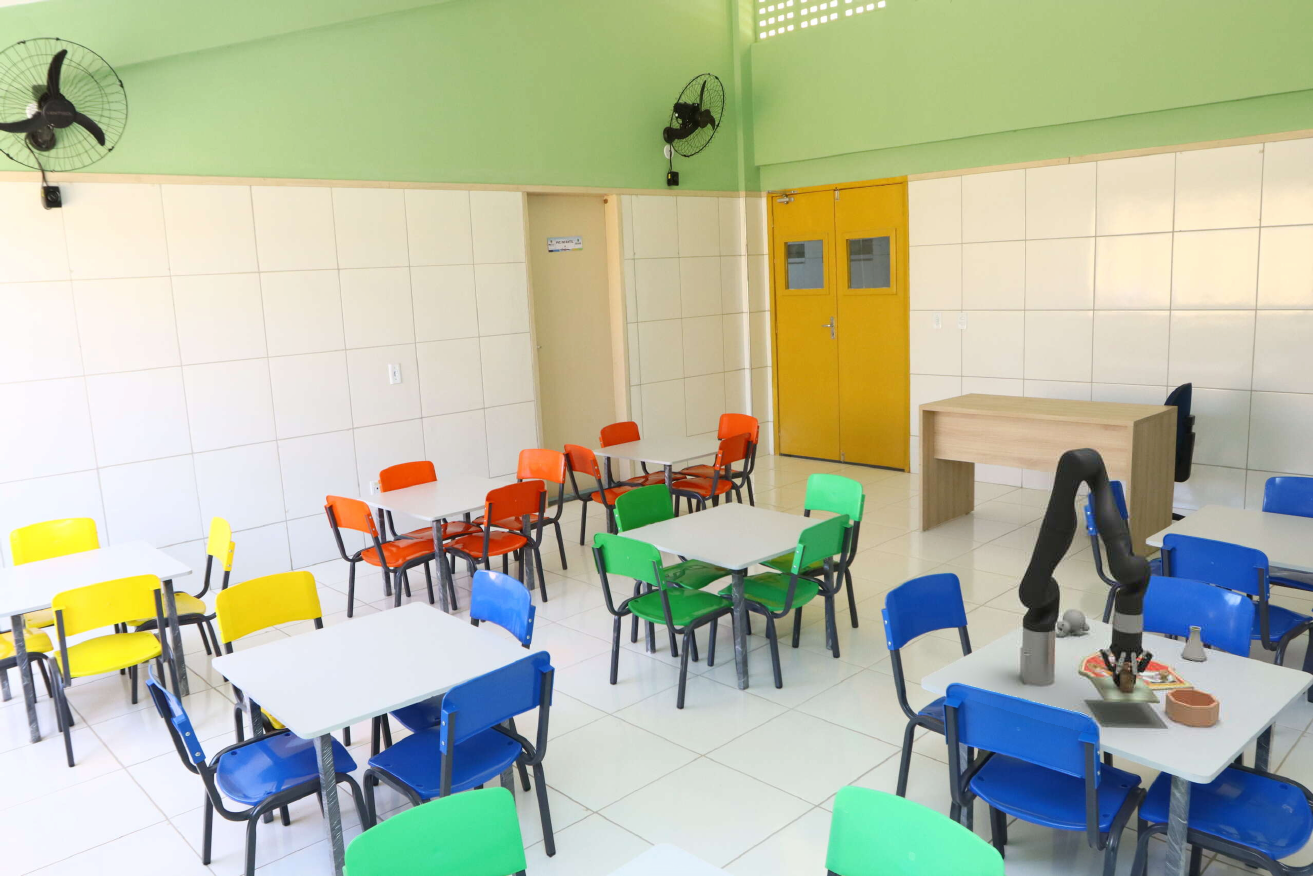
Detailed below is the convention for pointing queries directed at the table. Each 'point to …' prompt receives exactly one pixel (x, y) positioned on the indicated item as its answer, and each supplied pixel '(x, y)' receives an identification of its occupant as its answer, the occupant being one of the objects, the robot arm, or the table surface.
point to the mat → (1125, 714)
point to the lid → (1124, 689)
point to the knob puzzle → (1153, 676)
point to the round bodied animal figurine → (1072, 623)
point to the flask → (1194, 646)
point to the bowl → (1192, 707)
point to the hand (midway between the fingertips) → (1124, 685)
